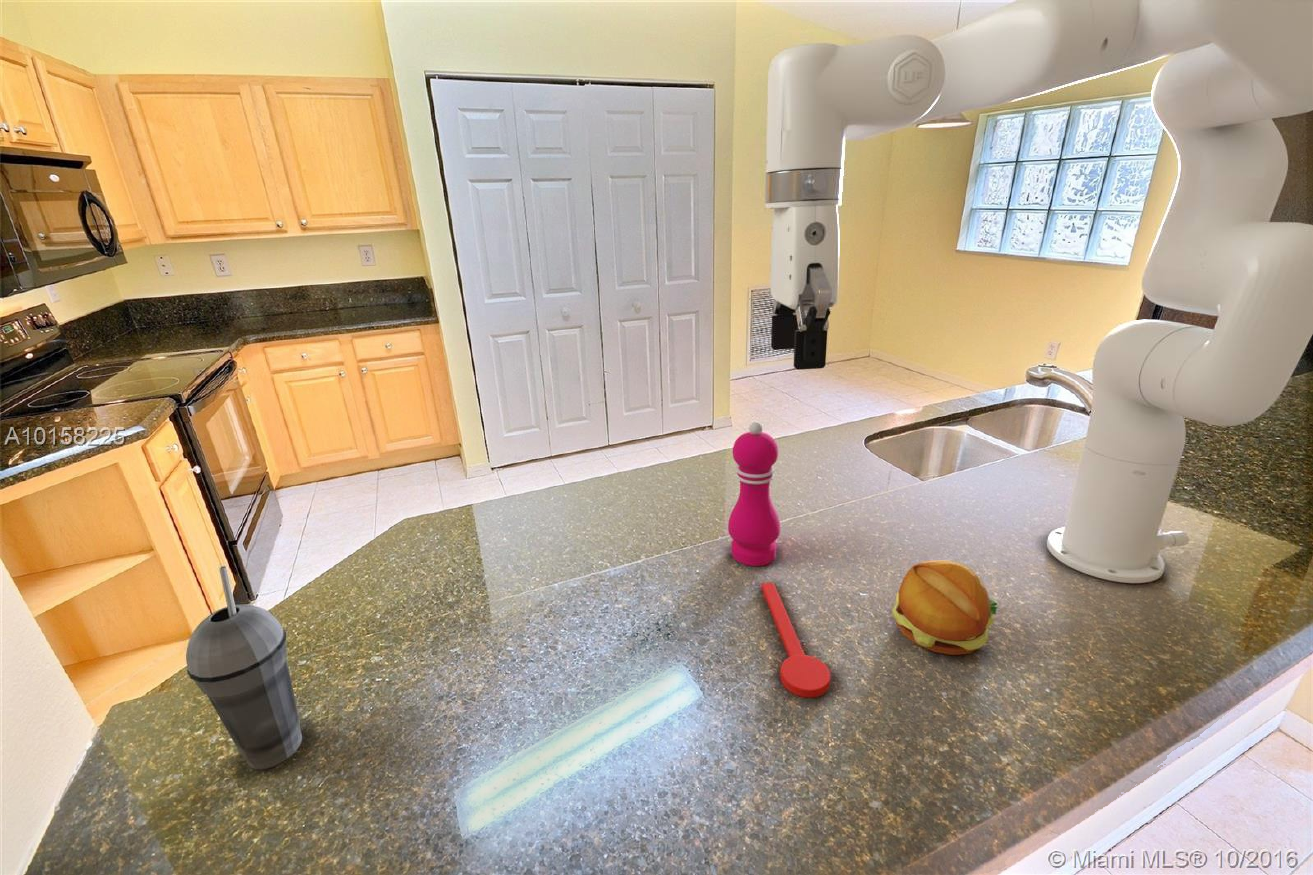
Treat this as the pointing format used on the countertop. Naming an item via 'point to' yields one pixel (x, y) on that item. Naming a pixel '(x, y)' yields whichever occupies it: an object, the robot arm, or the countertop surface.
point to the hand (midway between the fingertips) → (796, 357)
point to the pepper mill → (754, 499)
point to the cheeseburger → (944, 607)
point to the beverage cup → (247, 679)
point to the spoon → (796, 653)
